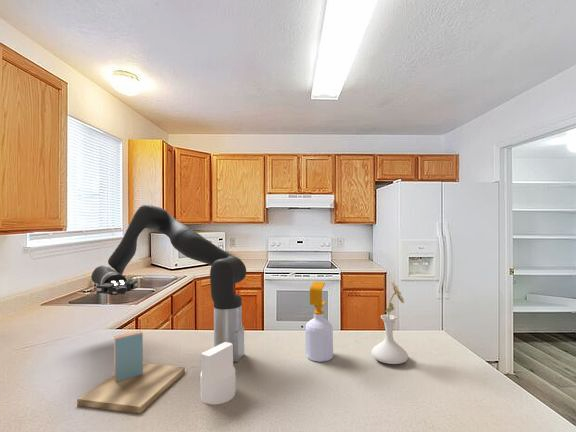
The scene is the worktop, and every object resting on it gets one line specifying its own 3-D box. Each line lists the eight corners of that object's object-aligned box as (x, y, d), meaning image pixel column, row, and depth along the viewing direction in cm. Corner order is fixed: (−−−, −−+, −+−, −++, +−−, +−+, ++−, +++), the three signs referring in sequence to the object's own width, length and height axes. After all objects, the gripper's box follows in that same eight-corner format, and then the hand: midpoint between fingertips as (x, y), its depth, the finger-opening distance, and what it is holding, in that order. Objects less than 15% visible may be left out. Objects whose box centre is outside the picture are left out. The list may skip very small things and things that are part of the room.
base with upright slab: (218, 408, 74) (217, 359, 74) (193, 397, 79) (192, 351, 79) (242, 390, 82) (241, 345, 82) (218, 381, 87) (217, 339, 87)
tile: (114, 379, 86) (113, 336, 86) (141, 371, 90) (140, 330, 90) (115, 382, 84) (115, 339, 84) (143, 374, 88) (142, 333, 88)
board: (185, 372, 92) (184, 367, 92) (140, 413, 73) (140, 406, 73) (133, 367, 96) (133, 362, 96) (77, 405, 76) (77, 398, 76)
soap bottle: (336, 352, 104) (335, 281, 105) (328, 364, 96) (326, 286, 96) (311, 348, 108) (310, 279, 108) (302, 359, 100) (300, 284, 100)
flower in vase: (399, 371, 90) (397, 287, 91) (365, 360, 98) (363, 282, 99) (415, 357, 100) (414, 280, 100) (383, 347, 108) (381, 277, 108)
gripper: (91, 274, 107) (98, 282, 93) (133, 270, 115) (144, 276, 101) (92, 296, 107) (98, 306, 93) (133, 290, 115) (144, 299, 101)
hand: (122, 291), depth 97 cm, fingers closed
